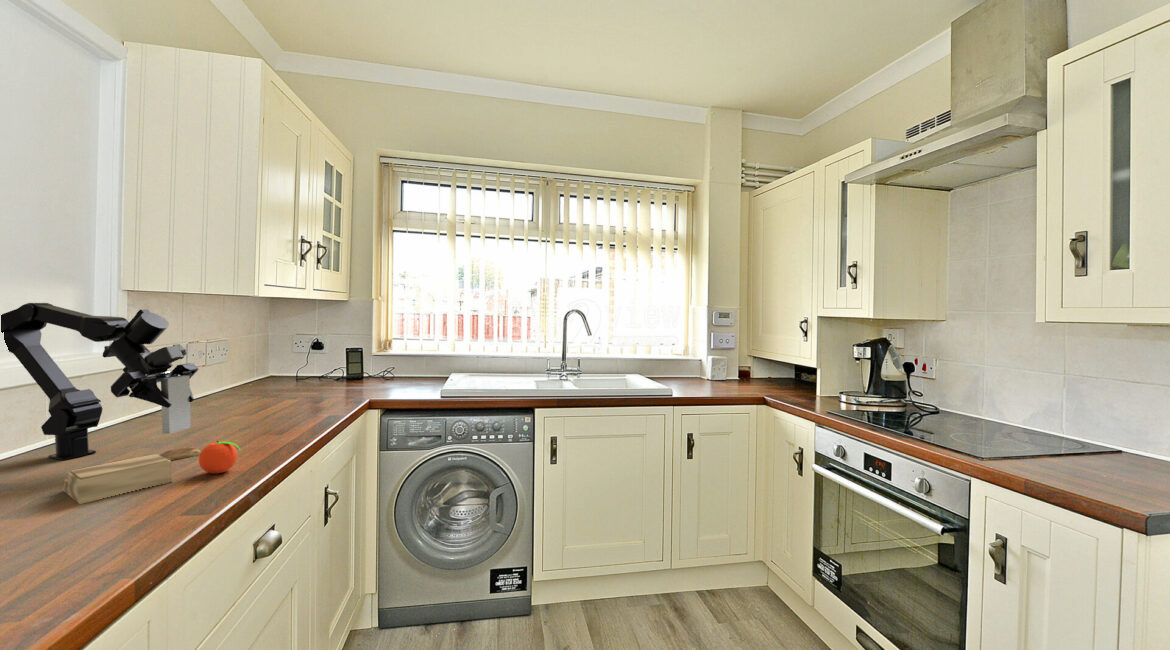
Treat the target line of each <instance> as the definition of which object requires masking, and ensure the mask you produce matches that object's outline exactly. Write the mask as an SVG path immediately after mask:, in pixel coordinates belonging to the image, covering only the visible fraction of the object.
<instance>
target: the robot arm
mask: <svg viewBox="0 0 1170 650" xmlns="http://www.w3.org/2000/svg"><path fill="white" fill-rule="evenodd" d="M1 314H2V315H1ZM1 314H0V315H1V332H2V333H3V332H4V340H5V343H6V345H7V347H8V350H9V351H8V352H9V353H12V354H13V355H14V357H15V358H16V359H17V360H18V361H19V363H20V364H21V365H22V367H24V369H25V370H26V371H27V373H28V374H29V375H30V377H32V379H33V380H34V381H35V383H36V384H37V385H38V386H39V387H40V389H41V390H42V392H43V393H44V394H45V396H46V397H47V398H48V400H49V404H48V413H49V415H50V417H49V418H47V420H46V421H45V422H43V424H42V425H41V426H40V428H41V431H42V433H43V435H44V436H54V442H55V443H54V444H55V453H54V454H49V455H47V456H48V458H50V459H54V460H55V459H56V460H61V461H64V460H70V459H73V458H79V457H84V456H87V455H92V454H96V453H97V450H95V449H90V448H89V429H91V428H96V427H97V428H98V426H99V422H100V420H101V416H102V413H103V406H102V404H101V402H102V401H101V399H99V398H98V397H97V396H96V395H95V393H94V391H93V390H91V389H90V388H88V389H83V390H81V389H78V388H77V387H76V386H74V384H73V383H72V381H70V379H69V378H68V377H67V375H66V374H65V373H64V372H63V371H62V370H61V369H62V368H60V367H59V365H58V364H57V363H56V361H54V359H53V358H52V357H51V356H50V354H49V353H48V351H46V349H45V348H44V346H42V345H43V344H41V340H42V339H41V338H42V332H41V330H42V329H44V328H46V327H47V325H48V324H49V325H53V326H56V327H57V326H58V327H61V328H66V329H68V330H73V331H77V332H78V333H79V334H80V336H82V337H83V338H86V339H88V340H90V341H92V342H96V343H101V342H103V343H104V342H111V344H109V345H104V350H103V352H102V357H103V358H112V357H115V358H116V359H117V360H118V361H119V362H120V363H121V364H122V365H123V366H124V367H123V369H122V372H123V373H122V374H121V375H120V376H119V377H118V378H117V379H116V380H115V381H114V382H113V383H112V384H111V386H110V392H111V394H112V395H113V396H114V397H116V398H121V397H122V398H123V397H127V396H128V397H129V398H135V399H138V400H143V401H146V402H149V403H152V404H156V405H158V406H161V407H162V406H164V407H167V408H169V407H170V406H171V405H172V404H171V402H170V401H169V400H168V398H167V397H166V396H165V395H164V394H163V392H162V391H161V388H159V386H158V384H157V383H161V379H164V378H170V377H176V376H182V375H187V376H189V380H190V379H191V378H192V377H193V376H194V375H196V373H197V372H198V371H199V367H198V366H196V365H195V364H194V363H191V362H189V363H181V364H177V365H176V366H175V367H174V368H173V369H172V370H171V371H168V369H171V368H172V367H173V364H172V363H173V362H174V363H175V362H176V361H178V360H183V359H185V356H186V355H187V349H186V348H185V347H184V346H183V345H181V344H173V345H172V346H165V347H161V348H158V349H157V350H155V351H150V349H148V348H147V346H146V345H151V344H153V343H155V341H157V339H159V337H160V336H161V335H162V334H163V333H164V332H165V331H166V330H167V329H168V327H169V326H170V325H169V321H168V320H167V319H166V318H165V317H163V316H161V315H160V314H157V313H155V312H151V311H150V310H149V309H139V310H137V312H136V313H135V315H134V317H132V318H131V320H130V321H129V320H128V319H127V318H125V317H123V316H111V315H110V316H109V315H108V316H107V315H105V316H104V315H103V316H102V315H91V314H87V313H84V312H81V311H76V310H73V309H67V308H64V307H60V306H56V305H53V304H51V303H50V302H49V303H48V302H28V303H25V304H23V305H20V306H19V307H17V308H16V309H13V310H10V311H8V312H5V313H1ZM194 398H195V397H194V395H193V391H192V390H191V388H190V403H193V401H194Z"/></svg>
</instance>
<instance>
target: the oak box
mask: <svg viewBox="0 0 1170 650" xmlns="http://www.w3.org/2000/svg"><path fill="white" fill-rule="evenodd" d="M160 455H161V454H157V453H153V454H148V455H143V456H138V457H133V458H127V459H123V460H118V461H113V462H108V463H102V464H98V465H93V466H88V467H83V468H78V469H72V470H70V471H67V478H66V479H64V484H63V492H64V493H65V494H67V495H68V496H69V497H70V498H71V499H73V500H74V501H75V502H76V503H77V504H78V505H82V504H86V503H90V502H95V501H98V500H103V498H104V499H107V497H108V498H111V496H112V497H114V496H115V495H116V496H120V495H124V494H123V493H125V494H128V493H127V492H129V493H132V492H131V491H133V492H136V491H135V490H137V491H140V490H139V489H141V490H143V489H142V488H145V489H149V488H148V487H150V488H153V487H152V486H154V487H157V485H158V486H162V485H166V484H170V483H169V482H171V483H173V474H172V473H173V472H172V471H173V470H172V461H170V460H168V459H166V458H164V457H162V456H160ZM161 484H162V485H161ZM119 494H120V495H119ZM116 496H115V497H116Z"/></svg>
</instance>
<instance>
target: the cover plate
mask: <svg viewBox="0 0 1170 650" xmlns="http://www.w3.org/2000/svg"><path fill="white" fill-rule="evenodd" d="M190 385H191V384H190V379H189V376H187V375H182V376H176V377H170V378H164V379H161V382H160V390H161V391H162V392H163V394H164V395H165V396H166V397H167V398H168V400H169V401H170V402H171V404H172V405H171V406H170V407H169V408H167V407H164V406H161V425H162V426H161V429H162V430H161V431H162V434H164V435H167V434H168V435H169V434H170V435H171V434H173V433H178V432H180V431H183V430H187V429H190V428H192V426H191V425H192V424H191V423H192V422H191V421H192V420H191V418H192V417H191V415H192V414H191V402H190V389H191V386H190Z"/></svg>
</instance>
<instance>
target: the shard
mask: <svg viewBox="0 0 1170 650" xmlns="http://www.w3.org/2000/svg"><path fill="white" fill-rule="evenodd" d="M200 453H201V450H200V449H199V448H197V447H195V446H192V445H188V446H184V447H180V448H176V449H175V448H174V449H172V450H171V449H170V450H167V451H165V452H163V453H161V454H159V455H160V456H162V457H164V458H166V459H168V460H170V461H171V460H172V461H175V459H177V460H181V459H185V458H191V457H196V456H199V455H200ZM172 461H171V462H172Z"/></svg>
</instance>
